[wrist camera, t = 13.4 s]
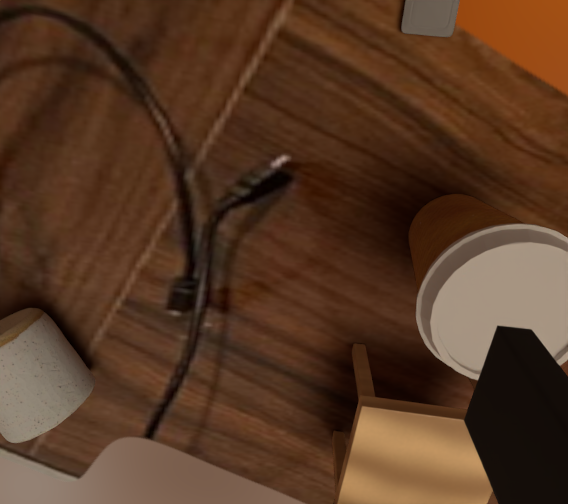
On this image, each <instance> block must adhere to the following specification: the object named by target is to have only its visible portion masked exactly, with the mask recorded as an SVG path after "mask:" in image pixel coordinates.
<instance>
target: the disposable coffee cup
mask: <svg viewBox="0 0 568 504" xmlns="http://www.w3.org/2000/svg"><path fill="white" fill-rule="evenodd" d="M409 245H410V250H411V256H412V262H413V268H414V273H415V280H416V285H417V290H418V295H417V303H416V319H417V324H418V329H419V332H420V334H421V336H422V339H423V341H424V343H425V345H426V346H427V347H428V348H429V349H430V351H431V352H432V353H433V354H434V355H435V356H436V357H437V358H438V359H440V360H441V361H442V362H444V363H445V364H446V365H448V366H450V367H452V368H453V369H454V370H455V371H457V372H459V373H461V374H463V375H465V376H467V377H469V378H471V379H475V380H478V379H479V376H480V373H481V370H482V367H483V365H484V362H485V359H486V356H487V353H488V350H489V348H490V345H491V342H492V339H493V336H494V333H495V331H496V328H497V325H498V326H507V327H516V328H525V329H532V330H533V332H534V333H535V334H536V336H537V337H538V338H539V340H540V341H541V342H542V344H543V345H544V346H545V347H546V349H547V350H548V351H549V353H550V354H551V355H552V357H553V358H554V359H555V361H556V362H557V363H558V364H559V366H560V365H561V364H563V363H564V362H566V361H567V360H568V238H567V237H565V236H564V235H562V234H560V233H559V232H557V231H555V230H552V229H548V228H545V227H541V226H538V225H533V224H525V223H523V222H521V221H519V220H517V219H516V218H513V217H511V216H509V215H507V214H505V213H503V212H501V211H499V210H497V209H495V208H493V207H491V206H489V205H487V204H485V203H483V202H481V201H480V200H478V199H476V198H474V197H472V196H468V195H464V194H450V195H445V196H441V197H438V198H436V199H434V200H432V201H430V202H429V203H428V204H426V205H425V206H423V208H422V209H421V210H420V211H419V212H418V213H417V214H416V216H415V217H414V219H413V221H412V224H411V226H410V230H409Z"/></svg>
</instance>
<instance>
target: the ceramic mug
mask: <svg viewBox="0 0 568 504" xmlns="http://www.w3.org/2000/svg"><path fill="white" fill-rule="evenodd" d="M94 385H95V378H94V376H93V374H92V373H91V371H90V370H89V369H88V368H87V367H86V365H85V364H84V362H83V361H82V359H81V358H80V356H79V355H78V354H77V352H76V351H75V350H74V348H73V347H72V346H71V345H70V343H69V342H68V341H67V339H66V338H65V337H64V335H63V334H62V332H61V331H60V329H59V328H58V326H57V325H56V324H55V322H54V321H53V320H52V319H51V318H50V317H49V316H48V315H47V314H46V313H45V312H44V311H42V310H41V309H38V308H27V309H24V310H21V311H18V312H16V313H13V314H11V315H9V316H7V317H6V318H4V319H2V320H0V432H1V434H2V435H3V436H4V438H5V439H6V440H7V441H9V442H12V443H19V442H24V441H27V440H30V439H32V438H34V437H37V436H39V435H41V434H43V433H45V432H47V431H49V430H50V429H52V428H54V427H55V426H57V425H58V424H60V423H61V422H62V421H63V420H65V419H66V418H67V417H68V416H69V415H71V414H72V413H73V412H74V411H76V410H77V409H78V407H79V406H80V405H81V404H82V403H83V402H84V401H85V400H86V398H87V397H88V396H89V394H90V393H91V392H92V390H93V388H94Z"/></svg>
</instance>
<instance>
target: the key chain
mask: <svg viewBox="0 0 568 504" xmlns="http://www.w3.org/2000/svg"><path fill="white" fill-rule="evenodd" d="M458 5H459V0H406V1H405V7H404V13H403V19H402V26H401V30H402V32H403V33H406V34H417V35H428V36H440V37H449V36H451V35H452V33H453V30H454V25H455V20H456V15H457V10H458Z"/></svg>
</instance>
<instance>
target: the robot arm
mask: <svg viewBox="0 0 568 504" xmlns="http://www.w3.org/2000/svg"><path fill="white" fill-rule="evenodd" d="M464 422H465V425H466V427H467V429H468V432H469V434H470V436H471V439H472V441H473V444H474V446H475V448H476V451H477V453H478V456H479V458H480V460H481V463H482V465H483V468H484V470H485V472H486V475H487V477H488V480H489V482H490V484H491V487H492V489H493V492H494V494H495V496H496V499H497V501H498V504H568V376H567V375H566V374H565V372H564V371H563V370H562V368H561V367H560V366H559V364H558V363H557V362H556V361H555V359H554V358H553V357H552V355H551V354H550V353H549V351H548V350H547V349H546V347H545V346H544V345H543V344H542V342H541V341H540V340H539V338H538V337H537V336H536V334H535V333H534V332H533V330H532V329H525V328H516V327H507V326H498V325H497V328H496V331H495V333H494V336H493V339H492V342H491V345H490V348H489V350H488V353H487V356H486V359H485V362H484V365H483V367H482V370H481V373H480V376H479V379H478V382H477V384H476V387H475V390H474V393H473V396H472V399H471V401H470V404H469V407H468V410H467V413H466V416H465V418H464Z"/></svg>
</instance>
